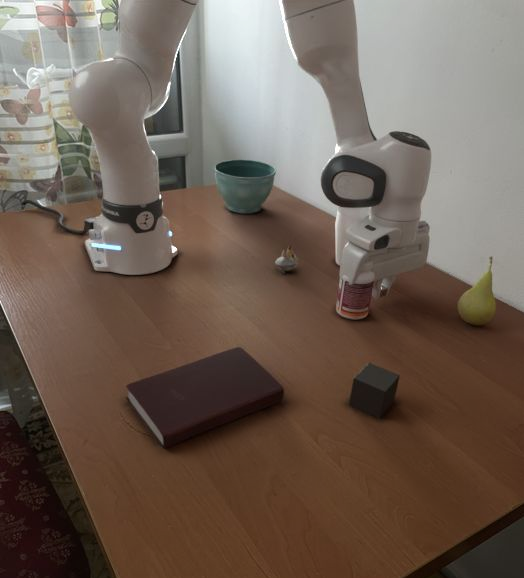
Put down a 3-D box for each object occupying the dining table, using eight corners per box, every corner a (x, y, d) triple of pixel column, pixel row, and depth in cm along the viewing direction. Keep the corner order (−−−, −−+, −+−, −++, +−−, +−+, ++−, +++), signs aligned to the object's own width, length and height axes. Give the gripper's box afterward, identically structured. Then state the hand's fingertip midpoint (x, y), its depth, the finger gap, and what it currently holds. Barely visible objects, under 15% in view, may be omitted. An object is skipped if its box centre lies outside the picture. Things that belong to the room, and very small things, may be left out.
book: (283, 403, 80) (285, 386, 79) (164, 452, 71) (162, 433, 69) (238, 361, 89) (238, 344, 87) (125, 400, 79) (123, 382, 77)
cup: (352, 275, 118) (360, 222, 111) (321, 260, 123) (328, 209, 116) (378, 265, 123) (388, 213, 116) (348, 251, 128) (355, 201, 121)
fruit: (452, 326, 102) (468, 267, 95) (455, 308, 107) (471, 251, 101) (489, 334, 100) (509, 275, 93) (491, 316, 106) (509, 258, 99)
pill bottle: (374, 315, 103) (385, 262, 97) (350, 323, 100) (359, 269, 94) (353, 301, 108) (361, 249, 102) (328, 309, 105) (336, 256, 99)
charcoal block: (348, 404, 81) (353, 377, 78) (364, 388, 84) (369, 362, 82) (379, 418, 79) (385, 391, 76) (393, 401, 82) (400, 375, 79)
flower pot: (285, 209, 150) (288, 169, 144) (243, 223, 140) (245, 181, 134) (244, 194, 159) (245, 156, 153) (202, 206, 149) (201, 166, 143)
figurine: (278, 275, 116) (280, 249, 112) (271, 267, 119) (273, 241, 116) (301, 273, 117) (303, 247, 114) (293, 264, 121) (296, 239, 117)
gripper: (418, 213, 106) (404, 277, 114) (339, 232, 96) (329, 301, 104) (443, 224, 102) (427, 290, 110) (364, 244, 92) (352, 315, 100)
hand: (379, 295), depth 107 cm, fingers closed
